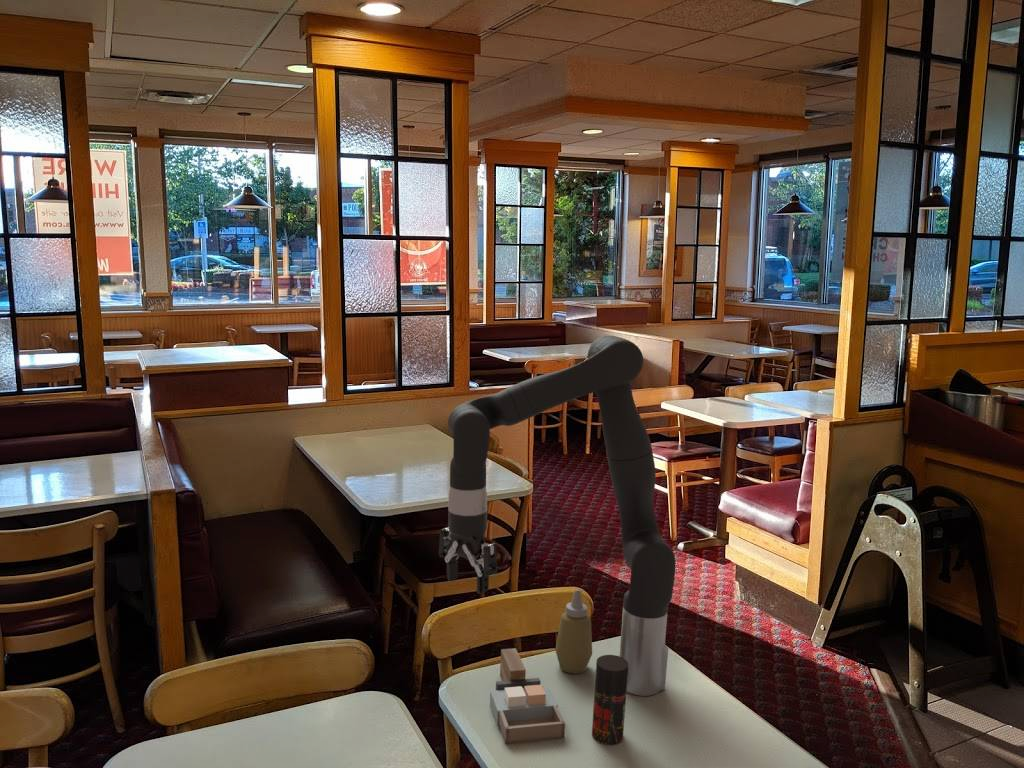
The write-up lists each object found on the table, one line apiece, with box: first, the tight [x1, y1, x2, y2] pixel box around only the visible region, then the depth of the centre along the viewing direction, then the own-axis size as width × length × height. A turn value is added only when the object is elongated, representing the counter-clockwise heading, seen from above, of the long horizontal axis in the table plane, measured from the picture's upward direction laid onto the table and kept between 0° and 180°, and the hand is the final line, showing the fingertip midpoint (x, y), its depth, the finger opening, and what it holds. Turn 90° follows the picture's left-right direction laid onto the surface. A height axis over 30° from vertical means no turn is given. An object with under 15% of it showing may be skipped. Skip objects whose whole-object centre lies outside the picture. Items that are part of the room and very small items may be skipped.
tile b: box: [504, 686, 526, 707], centre depth 158 cm, size 4×4×2 cm
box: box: [498, 706, 566, 745], centre depth 153 cm, size 11×6×3 cm, turn 103°
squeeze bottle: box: [555, 589, 593, 674], centre depth 176 cm, size 8×8×18 cm
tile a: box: [524, 684, 546, 705], centre depth 159 cm, size 4×4×2 cm
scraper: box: [495, 647, 541, 691], centre depth 168 cm, size 9×10×6 cm
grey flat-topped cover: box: [489, 685, 559, 726], centre depth 159 cm, size 12×7×3 cm, turn 103°
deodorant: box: [591, 654, 628, 746], centre depth 152 cm, size 6×6×15 cm
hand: (467, 586), depth 159 cm, fingers open, 8 cm apart
